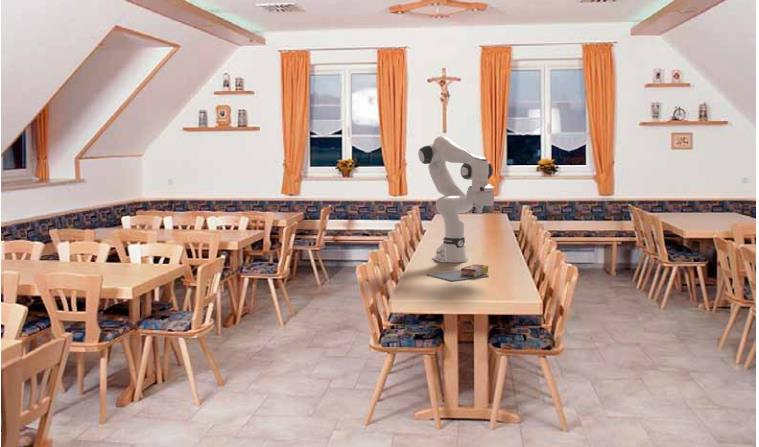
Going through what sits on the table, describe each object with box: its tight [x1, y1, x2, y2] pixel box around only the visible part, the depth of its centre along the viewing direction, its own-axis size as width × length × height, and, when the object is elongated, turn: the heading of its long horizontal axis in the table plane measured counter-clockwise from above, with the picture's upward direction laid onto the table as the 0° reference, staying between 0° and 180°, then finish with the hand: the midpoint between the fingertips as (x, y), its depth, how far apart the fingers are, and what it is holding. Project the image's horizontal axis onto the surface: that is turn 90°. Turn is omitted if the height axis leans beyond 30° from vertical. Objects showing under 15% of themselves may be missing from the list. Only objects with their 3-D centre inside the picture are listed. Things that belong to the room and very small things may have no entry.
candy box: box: [460, 263, 489, 277], centre depth 410 cm, size 9×4×15 cm
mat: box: [426, 269, 489, 283], centre depth 409 cm, size 22×24×1 cm
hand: (479, 212), depth 420 cm, fingers closed
